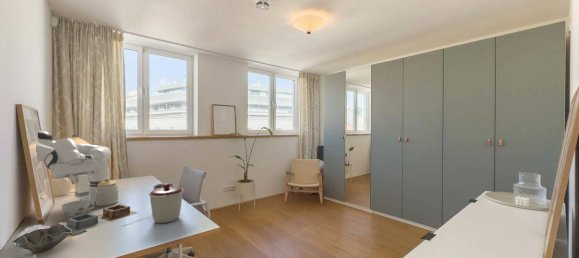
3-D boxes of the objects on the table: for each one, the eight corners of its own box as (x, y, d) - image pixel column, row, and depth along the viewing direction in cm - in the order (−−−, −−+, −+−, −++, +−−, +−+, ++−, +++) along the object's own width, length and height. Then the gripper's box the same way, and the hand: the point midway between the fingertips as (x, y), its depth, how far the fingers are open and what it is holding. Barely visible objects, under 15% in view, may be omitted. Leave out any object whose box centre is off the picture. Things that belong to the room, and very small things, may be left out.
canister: (144, 228, 127) (143, 188, 127) (153, 215, 145) (153, 181, 144) (181, 224, 132) (180, 186, 132) (186, 212, 149) (185, 179, 149)
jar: (98, 201, 172) (98, 177, 171) (120, 199, 177) (120, 175, 177) (92, 207, 160) (92, 181, 160) (116, 204, 165) (116, 179, 165)
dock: (56, 228, 126) (56, 219, 126) (90, 218, 140) (90, 210, 140) (73, 235, 119) (73, 225, 119) (107, 224, 132) (107, 215, 132)
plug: (75, 197, 128) (74, 175, 128) (84, 195, 132) (84, 173, 132) (79, 198, 126) (79, 176, 126) (89, 196, 130) (88, 174, 130)
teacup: (62, 222, 135) (62, 208, 135) (60, 216, 143) (60, 203, 143) (96, 214, 146) (96, 201, 146) (92, 210, 154) (92, 197, 154)
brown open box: (94, 217, 142) (94, 209, 142) (121, 209, 155) (121, 202, 155) (111, 223, 134) (111, 214, 134) (138, 214, 147) (138, 206, 147)
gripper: (50, 160, 122) (59, 181, 118) (96, 155, 141) (105, 173, 137) (46, 168, 124) (55, 189, 120) (92, 162, 143) (101, 180, 139)
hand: (82, 180), depth 129 cm, fingers closed on plug, 4 cm apart
